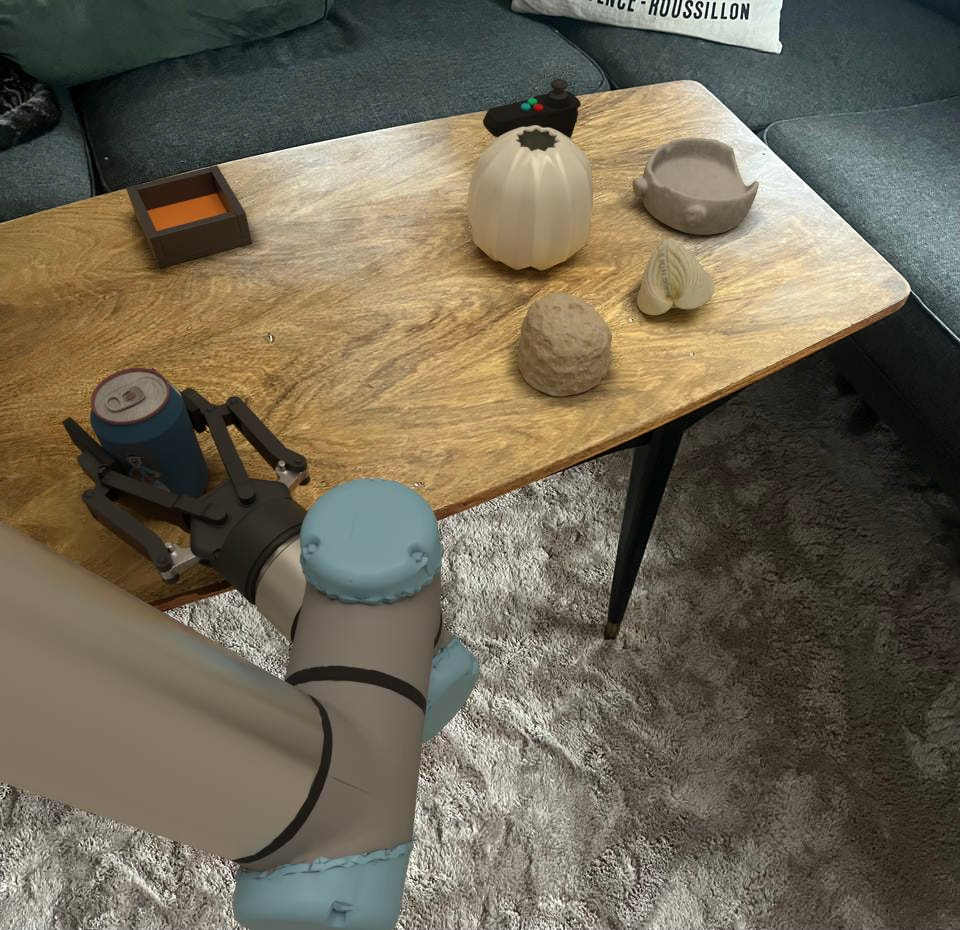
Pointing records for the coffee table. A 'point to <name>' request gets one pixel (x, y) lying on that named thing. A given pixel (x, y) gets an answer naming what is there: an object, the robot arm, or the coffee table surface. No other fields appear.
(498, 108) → the controller
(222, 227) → the square wooden tray
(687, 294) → the seashell
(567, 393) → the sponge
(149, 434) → the soda can
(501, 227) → the vase
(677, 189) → the dish
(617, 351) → the coffee table surface
